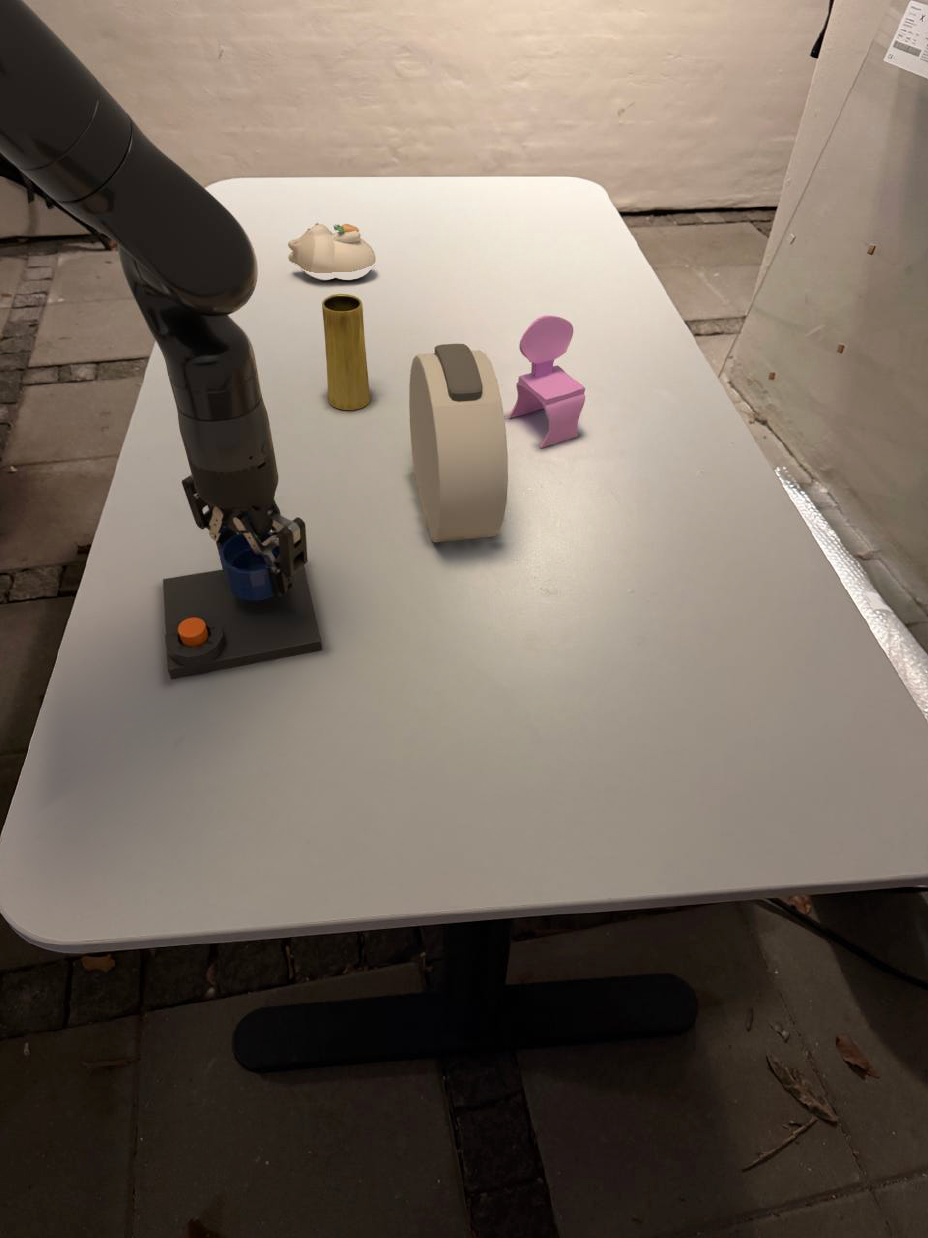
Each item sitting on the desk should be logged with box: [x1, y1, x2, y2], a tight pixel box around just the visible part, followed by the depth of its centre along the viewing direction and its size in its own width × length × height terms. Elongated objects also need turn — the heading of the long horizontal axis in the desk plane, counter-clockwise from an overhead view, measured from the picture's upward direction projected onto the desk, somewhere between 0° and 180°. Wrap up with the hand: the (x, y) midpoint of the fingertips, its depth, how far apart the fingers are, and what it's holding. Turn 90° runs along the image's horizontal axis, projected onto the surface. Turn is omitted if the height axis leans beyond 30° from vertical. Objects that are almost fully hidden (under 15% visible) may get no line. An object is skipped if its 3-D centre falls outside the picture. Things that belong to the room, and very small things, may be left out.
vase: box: [321, 293, 372, 411], centre depth 106 cm, size 6×6×14 cm
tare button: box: [178, 618, 208, 647], centre depth 76 cm, size 3×3×2 cm
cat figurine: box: [287, 222, 376, 273], centre depth 134 cm, size 10×8×15 cm
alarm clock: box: [408, 343, 509, 543], centre depth 89 cm, size 21×8×20 cm, turn 12°
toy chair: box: [507, 315, 586, 449], centre depth 103 cm, size 8×9×15 cm
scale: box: [162, 565, 323, 679], centre depth 81 cm, size 15×13×3 cm
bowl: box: [218, 530, 280, 601], centre depth 80 cm, size 6×6×4 cm
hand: (258, 576), depth 81 cm, fingers closed on bowl, 6 cm apart
